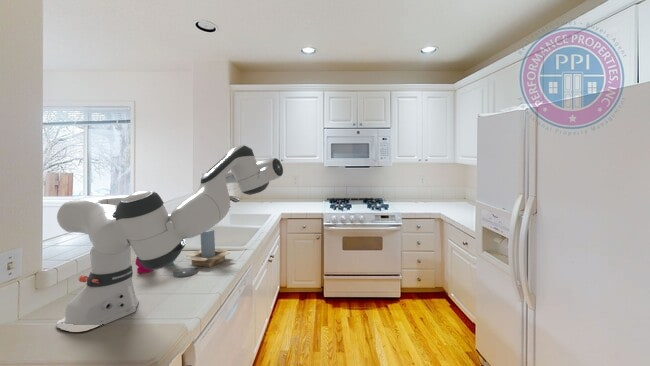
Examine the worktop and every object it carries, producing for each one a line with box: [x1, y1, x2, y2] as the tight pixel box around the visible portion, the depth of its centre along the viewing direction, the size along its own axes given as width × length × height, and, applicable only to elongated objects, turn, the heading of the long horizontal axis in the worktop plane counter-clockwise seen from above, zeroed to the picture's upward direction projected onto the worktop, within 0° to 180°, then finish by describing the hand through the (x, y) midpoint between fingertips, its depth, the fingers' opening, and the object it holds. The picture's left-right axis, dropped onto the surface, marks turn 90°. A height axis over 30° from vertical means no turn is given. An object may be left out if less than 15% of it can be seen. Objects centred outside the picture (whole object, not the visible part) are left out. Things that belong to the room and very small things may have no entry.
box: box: [200, 229, 216, 258], centre depth 153 cm, size 4×4×16 cm
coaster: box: [172, 267, 198, 278], centre depth 139 cm, size 10×10×1 cm
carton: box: [186, 248, 231, 268], centre depth 153 cm, size 18×18×4 cm
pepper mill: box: [135, 257, 154, 274], centre depth 142 cm, size 7×7×20 cm
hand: (229, 180), depth 134 cm, fingers open, 8 cm apart
